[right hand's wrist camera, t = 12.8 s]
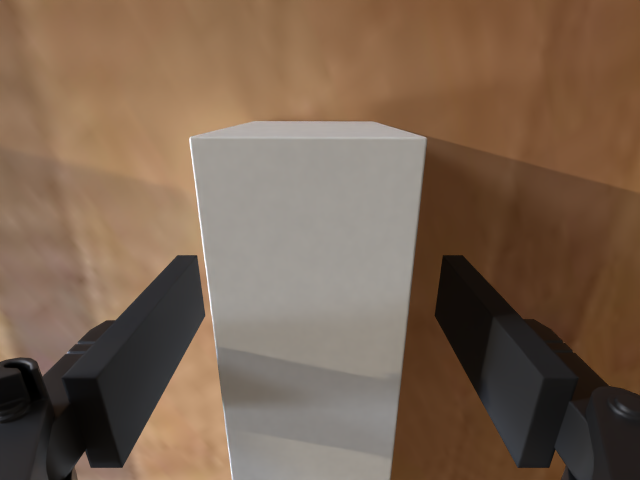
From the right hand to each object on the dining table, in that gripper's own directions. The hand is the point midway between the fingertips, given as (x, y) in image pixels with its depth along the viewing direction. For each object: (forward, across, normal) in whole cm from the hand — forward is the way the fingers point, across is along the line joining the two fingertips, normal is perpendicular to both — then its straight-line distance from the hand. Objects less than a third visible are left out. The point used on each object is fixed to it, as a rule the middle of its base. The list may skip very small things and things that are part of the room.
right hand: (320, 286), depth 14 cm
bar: (+3, 0, -20) cm, 20 cm away
